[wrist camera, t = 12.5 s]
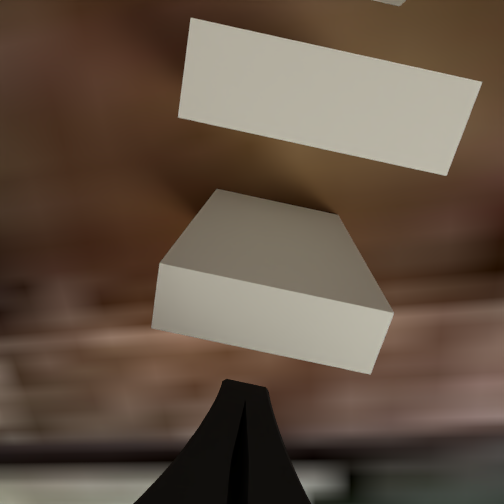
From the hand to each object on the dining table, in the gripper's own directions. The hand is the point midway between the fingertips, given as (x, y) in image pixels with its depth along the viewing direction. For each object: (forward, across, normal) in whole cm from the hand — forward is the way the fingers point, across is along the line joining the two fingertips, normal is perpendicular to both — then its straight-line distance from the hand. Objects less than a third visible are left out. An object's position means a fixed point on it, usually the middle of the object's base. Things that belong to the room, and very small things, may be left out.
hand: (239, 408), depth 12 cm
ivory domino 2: (+6, 0, -4) cm, 7 cm away
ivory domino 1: (+6, 0, -9) cm, 11 cm away
